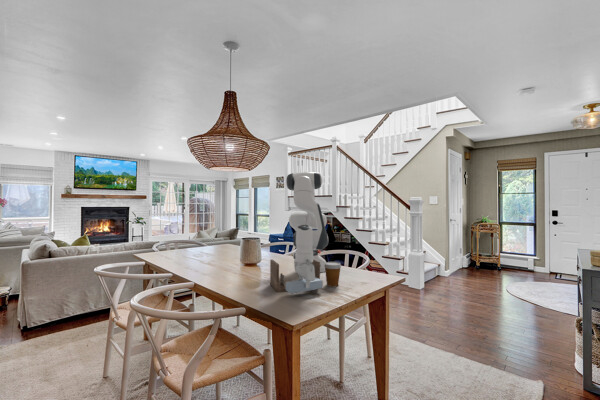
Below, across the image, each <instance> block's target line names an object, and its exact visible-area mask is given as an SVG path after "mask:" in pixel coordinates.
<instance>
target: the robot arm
mask: <svg viewBox="0 0 600 400" xmlns="http://www.w3.org/2000/svg"><path fill="white" fill-rule="evenodd" d="M285 184H286V187H287V189H288V190H289V191H293V194H292V195H293V196H292V197H293V204H294V205H295V207H296V208H298V209H299V210H300V211H303V212H295V213H291V214H290V216H289V219H288V223H289V226H290V227H291V228H293V229H294V231H295V232H294V233H293V234H292V237H293V238H292V239H293V242H292V245H293V246H294V247H295V248H296V249H295V253H294V254H293V256H292V257H293V259H294V261H293V266H294V267H293V268H294V271H295V273H296V274H297V275H298V280H303V279H305V281H306V284H305V287H306V288H309V284H310V281H314V280H315V269H314V265H313V264H312V262H313V259H315V260H317V261H319V262H320V273H324V272H325V266H324V265H325V263H326V262H327V261H326V259H324V258H323V257H322V256H321V255H319V254H321V253H322V251H321V250H324V249H326V247H327V246H328V245H329V236H328V233H327V231H326V230H327V229H326V225H327V224H328V218H327V215H325V214H324V213H322V212H323V211H322V209H321V206H320V204H319V202H317V201H316V198H315V190H319V189H320V188H321V187H322V185H323V177H322V175H321V173H320V172H318V171H303V172H295V173H289V174H287V176H286V179H285ZM325 273H326V272H325Z"/></svg>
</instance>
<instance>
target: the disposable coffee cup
mask: <svg viewBox="0 0 600 400" xmlns="http://www.w3.org/2000/svg"><path fill="white" fill-rule="evenodd" d="M324 266H325V279H326V285H327V286H328V287H338V286H339V282H340V275H341V267H342V264H341V262H338V261H328V262H327V261H326V263H325V265H324Z"/></svg>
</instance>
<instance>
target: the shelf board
mask: <svg viewBox="0 0 600 400" xmlns="http://www.w3.org/2000/svg"><path fill="white" fill-rule="evenodd" d="M296 280H297V281H295V280H289V281H290V282H286V291H285V292H288V293H289V294H298V293H302V292H303V293H304V292H307V291H308V292H309V291H313V290H319V289H323V279H322V278H320V279H319V278H316V277H315V280H314V281H310V284H309V288H306V287H305V284H306V281H305V279H304V278H303V280H300V279H296Z"/></svg>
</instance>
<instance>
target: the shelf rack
mask: <svg viewBox="0 0 600 400" xmlns="http://www.w3.org/2000/svg"><path fill="white" fill-rule="evenodd" d="M269 263H270V265H269V267H270V268H269V269H270V270H269V271H270V272H269V276H270V278H269V283H270V286H271V287H272V289H273V290H274V291H275V292H276V293H281V292H287V291H286V282H290V281H291V280H286V281H285V274H283V273H280V264H279V263H278V262H276V261H275V260H274V259H270V260H269ZM312 264H313V265H314V269H315V277H316V278H319V279H321V272H320V262H319V261H317V260H315V259H313V262H312ZM297 280H298V279H296V280H294V281H297Z"/></svg>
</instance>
